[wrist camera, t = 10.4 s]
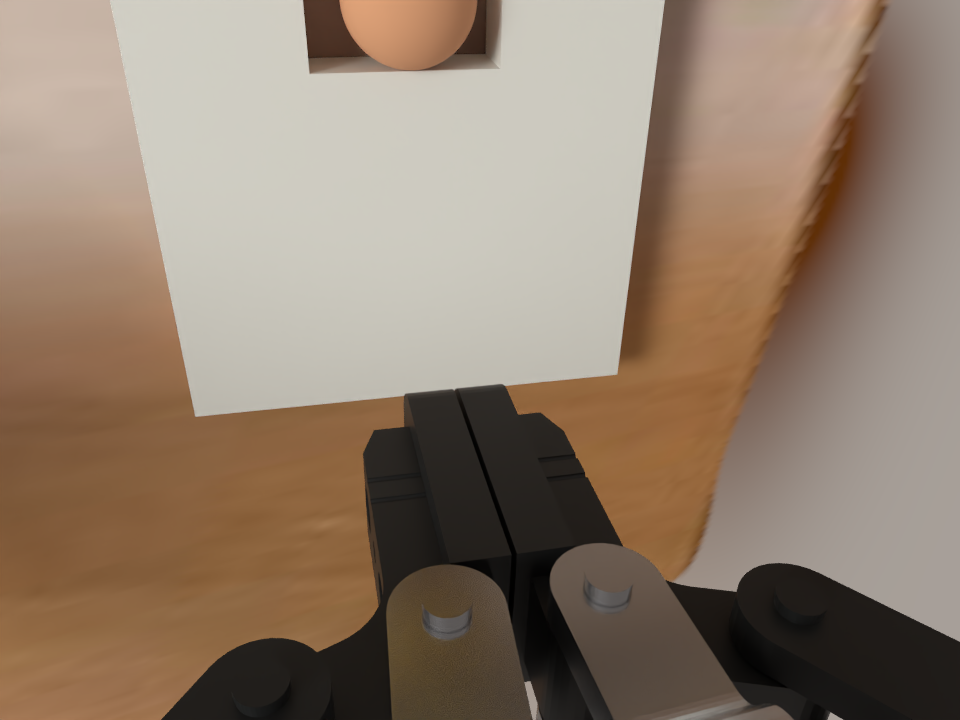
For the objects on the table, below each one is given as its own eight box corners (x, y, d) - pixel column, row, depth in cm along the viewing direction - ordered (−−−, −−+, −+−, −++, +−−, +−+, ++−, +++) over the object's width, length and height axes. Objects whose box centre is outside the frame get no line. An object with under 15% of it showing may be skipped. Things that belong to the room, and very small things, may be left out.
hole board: (599, 345, 38) (617, 374, 36) (200, 383, 35) (195, 416, 33) (671, -309, 26) (705, -323, 23) (57, -347, 22) (34, -367, 20)
